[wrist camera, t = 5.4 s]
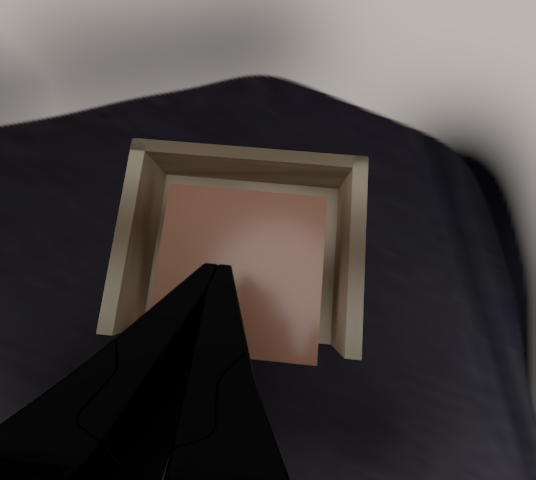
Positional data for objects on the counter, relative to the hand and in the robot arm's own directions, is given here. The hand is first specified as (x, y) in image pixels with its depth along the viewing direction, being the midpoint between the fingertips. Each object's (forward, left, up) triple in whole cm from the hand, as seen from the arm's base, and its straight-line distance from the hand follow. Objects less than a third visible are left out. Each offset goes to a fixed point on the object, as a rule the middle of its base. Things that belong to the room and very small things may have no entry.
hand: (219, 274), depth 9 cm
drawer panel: (-1, +3, -5) cm, 6 cm away
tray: (+1, -1, -7) cm, 7 cm away
